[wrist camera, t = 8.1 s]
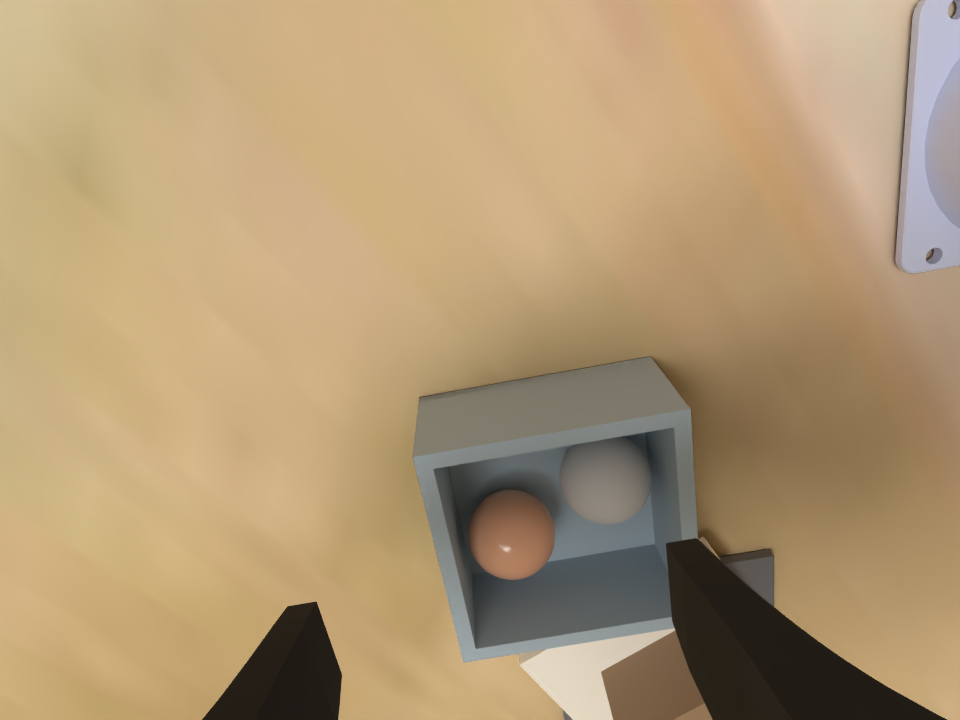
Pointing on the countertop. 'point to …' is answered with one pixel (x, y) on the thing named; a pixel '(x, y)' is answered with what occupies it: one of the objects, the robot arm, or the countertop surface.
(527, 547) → the ball terracotta
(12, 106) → the countertop surface
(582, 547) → the box
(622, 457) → the ball grey
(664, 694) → the lid
